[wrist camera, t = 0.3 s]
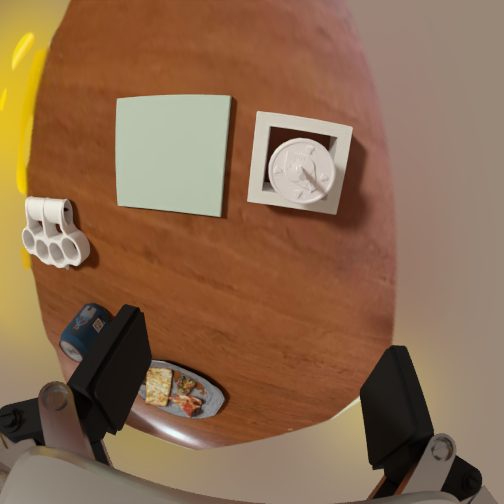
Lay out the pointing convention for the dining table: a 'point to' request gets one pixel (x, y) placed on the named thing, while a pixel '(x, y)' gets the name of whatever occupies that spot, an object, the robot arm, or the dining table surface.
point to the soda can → (83, 331)
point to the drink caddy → (338, 132)
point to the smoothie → (301, 171)
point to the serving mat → (172, 152)
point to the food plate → (179, 392)
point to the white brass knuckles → (53, 233)
